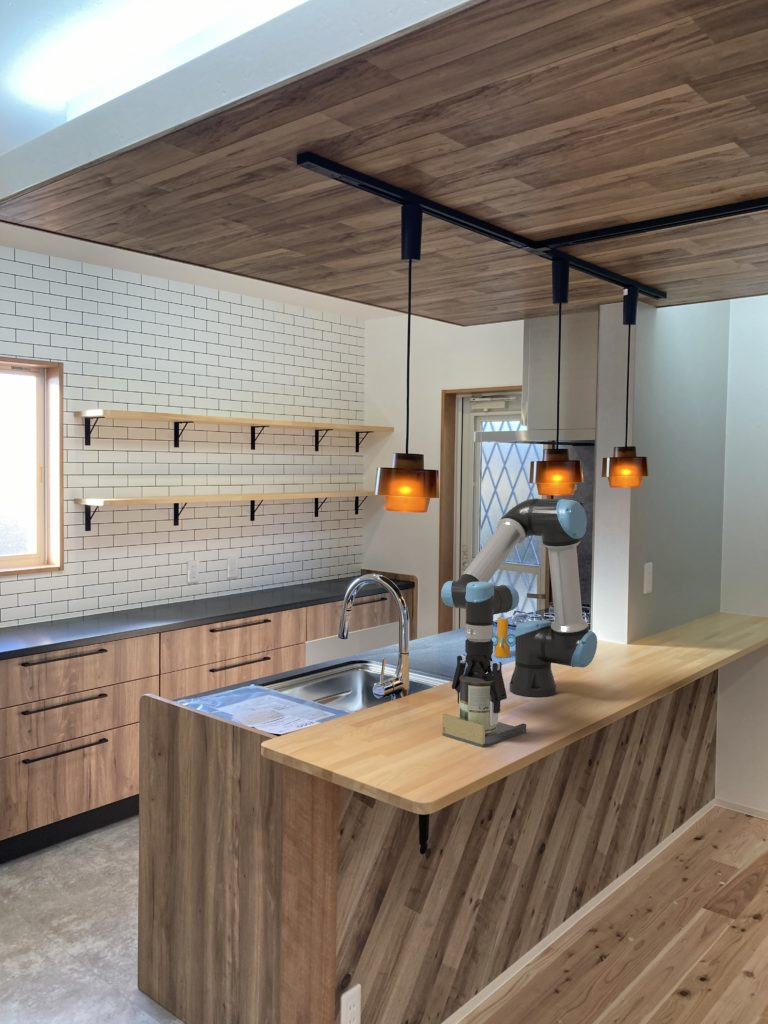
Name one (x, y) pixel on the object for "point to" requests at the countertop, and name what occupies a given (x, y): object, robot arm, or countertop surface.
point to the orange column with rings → (502, 639)
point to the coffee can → (476, 700)
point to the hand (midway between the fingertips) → (478, 720)
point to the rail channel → (478, 731)
